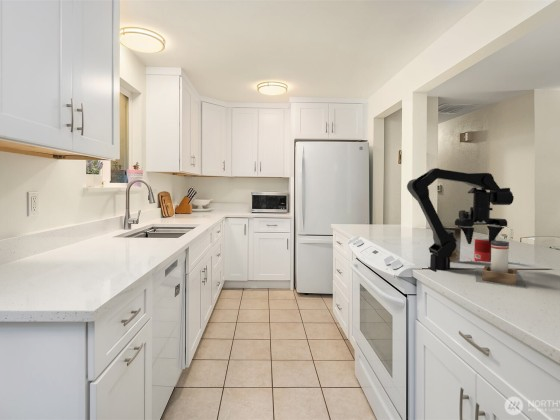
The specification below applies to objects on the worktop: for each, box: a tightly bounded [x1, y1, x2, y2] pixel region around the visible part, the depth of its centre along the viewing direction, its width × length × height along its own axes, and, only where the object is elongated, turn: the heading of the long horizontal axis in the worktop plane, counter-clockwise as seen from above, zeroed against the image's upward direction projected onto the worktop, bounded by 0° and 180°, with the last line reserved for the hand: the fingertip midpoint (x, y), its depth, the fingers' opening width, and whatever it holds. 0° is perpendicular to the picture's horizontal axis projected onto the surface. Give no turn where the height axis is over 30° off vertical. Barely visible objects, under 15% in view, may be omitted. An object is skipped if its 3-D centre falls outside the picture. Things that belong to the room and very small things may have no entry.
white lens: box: [490, 240, 510, 273], centre depth 109 cm, size 5×5×13 cm
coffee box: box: [443, 225, 462, 264], centre depth 140 cm, size 9×6×16 cm
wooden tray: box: [482, 265, 518, 286], centre depth 109 cm, size 10×10×4 cm
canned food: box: [473, 236, 497, 263], centre depth 141 cm, size 8×8×11 cm
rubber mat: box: [475, 266, 528, 289], centre depth 113 cm, size 24×14×1 cm, turn 148°
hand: (479, 243), depth 124 cm, fingers open, 9 cm apart
